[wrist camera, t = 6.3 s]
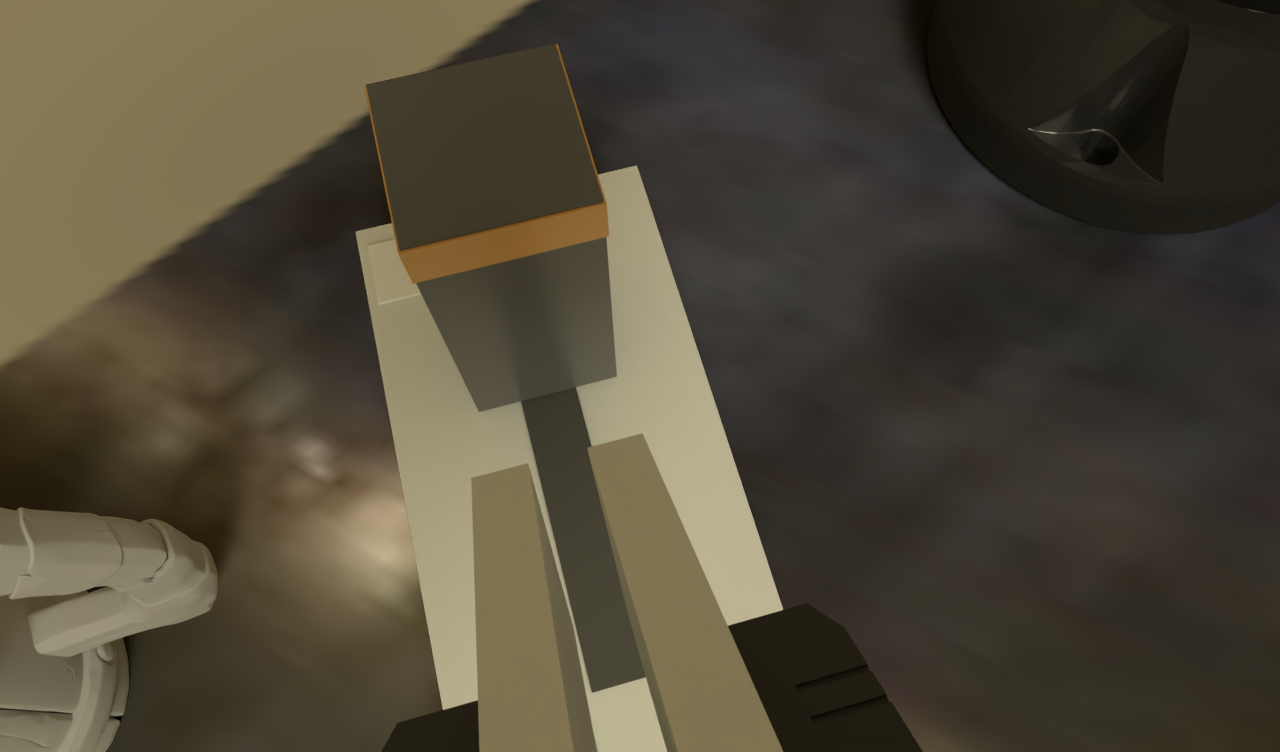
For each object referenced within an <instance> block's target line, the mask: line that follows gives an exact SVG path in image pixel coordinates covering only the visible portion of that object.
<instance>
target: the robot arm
mask: <svg viewBox="0 0 1280 752" xmlns="http://www.w3.org/2000/svg"><path fill="white" fill-rule="evenodd" d="M927 62H928V68H929V73H930V77H931V81H932V85H933V88H934V91H935V94H936V96H937V99H938V101H939V103H940V105H941V108H942V109H943V111H944V113H945V115H946V117H947V119H948V120H949V122H950V123H951V125H952V126H953V128H954V129H955V131H956V132H957V134H958V135H959V136H960V138H961V139H962V140H963V142H964V143H965V144H966V145H967V146H968V147H969V148H970V150H971V151H972V152H973V153H974V154H975V155H976V156H977V157H978V158H979V159H980V160H981V161H982V162H983V163H984V164H985V165H986V166H987V167H989V168H990V169H991V170H992V171H993V172H994V173H996V174H997V175H998V176H999V177H1001V178H1002V179H1003V180H1005V181H1006V182H1007V183H1009V184H1010V185H1012V186H1013V187H1015V188H1016V189H1018V190H1019V191H1021V192H1022V193H1024V194H1026V195H1027V196H1029V197H1031V198H1032V199H1034V200H1036V201H1038V202H1040V203H1042V204H1044V205H1046V206H1048V207H1050V208H1052V209H1054V210H1057V211H1059V212H1061V213H1063V214H1066V215H1069V216H1071V217H1074V218H1077V219H1079V220H1083V221H1086V222H1089V223H1092V224H1096V225H1100V226H1104V227H1108V228H1112V229H1118V230H1123V231H1129V232H1138V233H1149V234H1183V233H1195V232H1201V231H1208V230H1213V229H1217V228H1222V227H1225V226H1229V225H1232V224H1235V223H1238V222H1241V221H1243V220H1246V219H1248V218H1251V217H1253V216H1255V215H1257V214H1259V213H1261V212H1263V211H1265V210H1266V209H1268V208H1270V207H1271V206H1273V205H1274V204H1276V203H1277V202H1279V201H1280V0H936V3H935V6H934V8H933V11H932V14H931V18H930V22H929V26H928V34H927ZM587 449H588V453H589V457H590V461H591V466H592V470H593V474H594V478H595V482H596V486H597V490H598V494H599V498H600V502H601V506H602V510H603V515H604V519H605V523H606V527H607V531H608V535H609V539H610V543H611V547H612V551H613V555H614V559H615V563H616V568H617V572H618V576H619V580H620V584H621V588H622V592H623V596H624V600H625V604H626V608H627V612H628V616H629V620H630V623H631V627H632V630H633V634H634V637H635V641H636V644H637V648H638V651H639V655H640V658H641V662H642V665H643V669H644V672H645V676H646V679H647V683H648V686H649V690H650V693H651V697H652V700H653V704H654V707H655V711H656V714H657V718H658V721H659V725H660V728H661V732H662V735H663V739H664V743H665V746H666V750H667V752H923V751H922V750H921V748H920V747H919V745H918V743H917V742H916V740H915V739H914V737H913V736H912V734H911V732H910V731H909V729H908V728H907V726H906V724H905V723H904V721H903V720H902V718H901V716H900V715H899V713H898V712H897V710H896V709H895V707H894V705H893V704H892V702H889V701H888V698H887V695H886V693H885V691H884V690H883V688H882V686H881V685H880V683H879V682H878V680H877V678H876V677H875V675H874V674H873V672H872V671H869V668H868V665H867V663H866V661H865V659H864V658H863V656H862V655H861V653H860V652H859V650H858V648H857V647H856V645H855V644H854V642H853V640H852V639H851V637H850V636H849V634H848V633H847V631H846V629H845V628H844V627H842V626H841V625H839V624H838V623H836V622H835V621H833V620H832V619H830V618H829V617H827V616H826V615H824V614H823V613H821V612H820V611H818V610H817V609H815V608H814V607H812V606H810V605H809V604H807V603H806V604H802V605H799V606H795V607H792V608H788V609H785V610H781V611H778V612H774V613H771V614H767V615H764V616H760V617H757V618H753V619H750V620H746V621H743V622H739V623H735V624H732V625H727V623H726V621H725V619H724V616H723V614H722V612H721V610H720V607H719V605H718V603H717V601H716V598H715V596H714V594H713V591H712V589H711V587H710V585H709V582H708V580H707V578H706V576H705V573H704V571H703V569H702V567H701V564H700V562H699V560H698V558H697V555H696V553H695V551H694V549H693V546H692V544H691V542H690V539H689V537H688V535H687V533H686V530H685V528H684V526H683V524H682V521H681V519H680V517H679V515H678V512H677V510H676V508H675V506H674V503H673V501H672V499H671V496H670V494H669V492H668V490H667V487H666V485H665V483H664V481H663V478H662V476H661V474H660V472H659V469H658V467H657V465H656V463H655V460H654V458H653V456H652V454H651V451H650V449H649V447H648V444H647V442H646V440H645V438H644V435H643V433H641V434H638V435H634V436H630V437H626V438H622V439H618V440H615V441H611V442H607V443H603V444H599V445H595V446H592V447H588V448H587ZM471 485H472V518H473V551H474V584H475V617H476V651H477V684H478V700H477V701H473V702H470V703H466V704H463V705H459V706H456V707H452V708H449V709H445V710H442V711H438V712H435V713H431V714H428V715H424V716H421V717H417V718H413V719H410V720H406V721H403V722H399V723H397V725H396V727H395V728H394V730H393V732H392V734H391V736H390V737H389V739H388V741H387V743H386V745H385V746H384V748H383V750H382V752H597V749H596V743H595V738H594V733H593V727H592V722H591V717H590V712H589V706H588V701H587V696H586V691H585V685H584V680H583V675H582V669H581V664H580V659H579V654H578V648H577V643H576V638H575V632H574V627H573V624H572V620H571V617H570V613H569V609H568V606H567V602H566V598H565V595H564V591H563V588H562V584H561V580H560V577H559V573H558V570H557V566H556V562H555V559H554V555H553V551H552V548H551V544H550V541H549V537H548V533H547V530H546V526H545V522H544V519H543V515H542V512H541V508H540V504H539V501H538V497H537V494H536V490H535V486H534V483H533V479H532V475H531V472H530V468H529V465H528V463H526V464H523V465H519V466H515V467H511V468H507V469H503V470H500V471H496V472H492V473H488V474H484V475H481V476H477V477H473V478H471Z"/></svg>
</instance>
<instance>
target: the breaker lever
mask: <svg viewBox="0 0 1280 752" xmlns="http://www.w3.org/2000/svg"><path fill="white" fill-rule="evenodd" d="M365 92H366V97H367V102H368V107H369V112H370V117H371V122H372V127H373V132H374V137H375V142H376V147H377V152H378V157H379V162H380V167H381V172H382V177H383V182H384V187H385V192H386V196H387V201H388V206H389V211H390V216H391V221H392V226H393V231H394V236H395V241H396V246H397V251H398V255H399V257H400V259H401V261H402V263H403V265H404V267H405V269H406V271H407V273H408V275H409V277H410V279H411V281H412V283H413V284H414V283H416V284H417V286H418V288H419V290H420V293H421V295H422V297H423V299H424V301H425V303H426V305H427V307H428V309H429V311H430V313H431V315H432V317H433V319H434V321H435V323H436V325H437V327H438V329H439V331H440V333H441V335H442V338H443V340H444V342H445V344H446V346H447V348H448V350H449V352H450V354H451V356H452V358H453V360H454V362H455V364H456V366H457V368H458V370H459V372H460V374H461V376H462V378H463V381H464V383H465V385H466V387H467V389H468V391H469V393H470V395H471V397H472V399H473V401H474V403H475V405H476V407H477V409H478V411H479V412H481V411H485V410H489V409H493V408H497V407H501V406H505V405H509V404H513V403H516V402H520V401H524V400H528V399H532V398H536V397H540V396H544V395H547V394H551V393H555V392H559V391H563V390H567V389H571V388H575V387H579V386H582V385H586V384H590V383H594V382H598V381H602V380H606V379H610V378H613V377H617V370H616V357H615V344H614V331H613V317H612V304H611V291H610V278H609V265H608V251H607V238H606V237H608V236H609V226H608V212H607V203H606V199H605V196H604V193H603V190H602V186H601V183H600V180H599V177H598V174H597V170H596V167H595V164H594V161H593V157H592V154H591V151H590V148H589V144H588V141H587V138H586V135H585V131H584V128H583V125H582V122H581V118H580V115H579V112H578V109H577V105H576V102H575V99H574V96H573V93H572V89H571V86H570V83H569V80H568V76H567V73H566V70H565V67H564V63H563V60H562V57H561V54H560V50H559V47H558V44H556V43H554V44H549V45H544V46H540V47H535V48H531V49H526V50H522V51H517V52H513V53H508V54H504V55H499V56H494V57H490V58H485V59H481V60H476V61H472V62H467V63H463V64H458V65H453V66H449V67H444V68H440V69H435V70H431V71H426V72H422V73H417V74H412V75H408V76H403V77H399V78H394V79H390V80H385V81H381V82H376V83H372V84H367V85H366V86H365Z"/></svg>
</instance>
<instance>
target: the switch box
mask: <svg viewBox="0 0 1280 752" xmlns="http://www.w3.org/2000/svg"><path fill="white" fill-rule="evenodd" d="M598 177H599V180H600V183H601V186H602V190H603V193H604V196H605V199H606V203H607V212H608V226H609V236H608V237H606V238H607V251H608V265H609V278H610V291H611V304H612V317H613V331H614V344H615V357H616V370H617V377H613V378H610V379H606V380H602V381H598V382H594V383H590V384H586V385H582V386H579V387H575V388H571V389H567V390H563V391H559V392H555V393H551V394H547V395H544V396H540V397H536V398H532V399H528V400H524V401H520V402H516V403H513V404H509V405H505V406H501V407H497V408H493V409H489V410H485V411H481V412H479V411H478V409H477V407H476V405H475V403H474V401H473V399H472V397H471V395H470V393H469V391H468V389H467V387H466V385H465V383H464V381H463V378H462V376H461V374H460V372H459V370H458V368H457V366H456V364H455V362H454V360H453V358H452V356H451V354H450V352H449V350H448V348H447V346H446V344H445V342H444V340H443V338H442V335H441V333H440V331H439V329H438V327H437V325H436V323H435V321H434V319H433V317H432V315H431V313H430V311H429V309H428V307H427V305H426V303H425V301H424V299H423V297H422V295H421V293H420V290H419V288H418V286H417V284H416V283H414V284H413V283H412V281H411V279H410V277H409V275H408V273H407V271H406V269H405V267H404V265H403V263H402V261H401V259H400V257H399V255H398V251H397V246H396V241H395V236H394V231H393V226H392V223H390V224H386V225H382V226H377V227H373V228H369V229H365V230H360V231H356V237H357V243H358V248H359V254H360V259H361V265H362V270H363V275H364V281H365V286H366V292H367V297H368V303H369V308H370V314H371V319H372V325H373V330H374V336H375V341H376V346H377V352H378V357H379V363H380V368H381V374H382V379H383V385H384V390H385V396H386V401H387V407H388V412H389V417H390V423H391V428H392V434H393V439H394V445H395V450H396V456H397V461H398V467H399V472H400V478H401V483H402V488H403V494H404V499H405V505H406V510H407V516H408V521H409V527H410V532H411V538H412V543H413V549H414V554H415V559H416V565H417V570H418V576H419V581H420V587H421V592H422V598H423V603H424V609H425V614H426V620H427V625H428V630H429V636H430V641H431V647H432V652H433V658H434V663H435V669H436V674H437V680H438V685H439V691H440V696H441V701H442V707H443V710H445V709H449V708H452V707H456V706H459V705H463V704H466V703H470V702H473V701H477V700H478V684H477V651H476V617H475V584H474V551H473V518H472V485H471V478H473V477H477V476H481V475H484V474H488V473H492V472H496V471H500V470H503V469H507V468H511V467H515V466H519V465H523V464H526V463H528V465H529V468H530V472H531V475H532V479H533V483H534V486H535V490H536V494H537V497H538V501H539V504H540V508H541V512H542V515H543V519H544V522H545V526H546V530H547V533H548V537H549V541H550V544H551V548H552V551H553V555H554V559H555V562H556V566H557V570H558V573H559V577H560V580H561V584H562V588H563V591H564V595H565V598H566V602H567V606H568V609H569V613H570V617H571V620H572V624H573V627H574V632H575V638H576V643H577V648H578V654H579V659H580V664H581V669H582V675H583V680H584V685H585V691H586V696H587V701H588V706H589V712H590V717H591V722H592V727H593V733H594V738H595V743H596V749H597V752H667V750H666V746H665V743H664V739H663V735H662V732H661V728H660V725H659V721H658V718H657V714H656V711H655V707H654V704H653V700H652V697H651V693H650V690H649V686H648V683H647V679H646V676H645V672H644V669H643V665H642V662H641V658H640V655H639V651H638V648H637V644H636V641H635V637H634V634H633V630H632V627H631V623H630V620H629V616H628V612H627V608H626V604H625V600H624V596H623V592H622V588H621V584H620V580H619V576H618V572H617V568H616V563H615V559H614V555H613V551H612V547H611V543H610V539H609V535H608V531H607V527H606V523H605V519H604V515H603V510H602V506H601V502H600V498H599V494H598V490H597V486H596V482H595V478H594V474H593V470H592V466H591V461H590V457H589V453H588V449H587V448H588V447H592V446H595V445H599V444H603V443H607V442H611V441H615V440H618V439H622V438H626V437H630V436H634V435H638V434H641V433H643V435H644V438H645V440H646V442H647V444H648V447H649V449H650V451H651V454H652V456H653V458H654V460H655V463H656V465H657V467H658V469H659V472H660V474H661V476H662V478H663V481H664V483H665V485H666V487H667V490H668V492H669V494H670V496H671V499H672V501H673V503H674V506H675V508H676V510H677V512H678V515H679V517H680V519H681V521H682V524H683V526H684V528H685V530H686V533H687V535H688V537H689V539H690V542H691V544H692V546H693V549H694V551H695V553H696V555H697V558H698V560H699V562H700V564H701V567H702V569H703V571H704V573H705V576H706V578H707V580H708V582H709V585H710V587H711V589H712V591H713V594H714V596H715V598H716V601H717V603H718V605H719V607H720V610H721V612H722V614H723V616H724V619H725V621H726V623H727V625H732V624H735V623H739V622H743V621H746V620H750V619H753V618H757V617H760V616H764V615H767V614H771V613H774V612H778V611H781V610H783V608H782V605H781V602H780V599H779V595H778V592H777V589H776V586H775V583H774V580H773V577H772V574H771V571H770V568H769V565H768V562H767V559H766V556H765V553H764V550H763V547H762V544H761V541H760V538H759V535H758V532H757V529H756V526H755V523H754V520H753V517H752V514H751V511H750V507H749V504H748V501H747V498H746V495H745V492H744V489H743V486H742V483H741V480H740V477H739V474H738V471H737V468H736V465H735V462H734V459H733V456H732V453H731V450H730V447H729V444H728V441H727V438H726V435H725V432H724V429H723V426H722V422H721V419H720V416H719V413H718V410H717V407H716V404H715V401H714V398H713V395H712V392H711V389H710V386H709V383H708V380H707V377H706V374H705V371H704V368H703V365H702V362H701V359H700V356H699V353H698V350H697V347H696V344H695V341H694V338H693V334H692V331H691V328H690V325H689V322H688V319H687V316H686V313H685V310H684V307H683V304H682V301H681V298H680V295H679V292H678V289H677V286H676V283H675V280H674V277H673V274H672V271H671V268H670V265H669V262H668V259H667V256H666V253H665V250H664V246H663V243H662V240H661V237H660V234H659V231H658V228H657V225H656V222H655V219H654V216H653V213H652V210H651V207H650V204H649V201H648V198H647V195H646V192H645V189H644V186H643V183H642V180H641V177H640V174H639V171H638V168H637V166H633V167H628V168H624V169H620V170H616V171H611V172H607V173H603V174H599V175H598Z"/></svg>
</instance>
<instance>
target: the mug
mask: <svg viewBox="0 0 1280 752" xmlns="http://www.w3.org/2000/svg"><path fill="white" fill-rule="evenodd" d="M98 586H108V587H105V588H102V589H99V590H96V591H93V592H90V593H88V592H87V591H86V590H88V589H91V588H94V587H98ZM217 593H218V575H217V569H216V567H215V564H214V561H213V558H212V555H211V553H210V551H209V550H208V548H207V547H206V546H205V545H203V544H202V543H200V542H197V541H193V540H191V539H190V538H189V537H188V536H186V535H185V534H183V533H182V532H180V531H178V530H176V529H175V528H174V527H172V526H171V525H169V524H167V523H165V522H163V521H161V520H156V519H148V520H145V521H142V522H140V523H139V522H137V521H134V520H131V519H124V518H118V517H107V516H98V515H96V514H93V513H76V512H60V511H46V510H32V509H26V508H22V507H21V508H18V509H17V510H16V511H15V510H10V509H5V508H0V752H106V750H107V749H108V748H109V746H110V745H111V743H112V741H113V739H114V737H115V734H116V732H117V729H118V727H119V725H120V721H119V720H117V719H115V718H113V717H110V716H122V715H124V712H125V707H126V703H127V697H128V691H129V664H128V656H127V652H126V648H125V644H124V641H123V637H126V636H129V635H132V634H135V633H138V632H142V631H145V630H149V629H153V628H157V627H161V626H166V625H171V624H176V623H180V622H183V621H185V620H188V619H190V618H193V617H196V616H199V615H201V614H203V613H205V612H208V611H209V610H210V609H211V608H212V606H213V603H214V600H215V599H216V597H217Z"/></svg>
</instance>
